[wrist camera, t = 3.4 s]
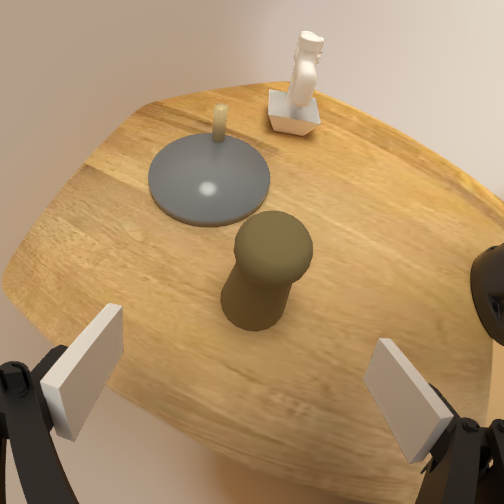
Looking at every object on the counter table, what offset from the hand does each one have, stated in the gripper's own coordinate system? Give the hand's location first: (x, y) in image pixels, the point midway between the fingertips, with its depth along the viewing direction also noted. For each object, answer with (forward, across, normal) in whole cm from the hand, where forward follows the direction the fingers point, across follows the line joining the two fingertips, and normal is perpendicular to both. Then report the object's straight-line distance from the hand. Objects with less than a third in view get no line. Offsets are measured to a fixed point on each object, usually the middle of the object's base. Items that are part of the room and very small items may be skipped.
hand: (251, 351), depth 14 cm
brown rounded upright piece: (+14, +1, -3) cm, 14 cm away
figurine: (+33, +4, +17) cm, 37 cm away
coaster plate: (+23, -5, +7) cm, 25 cm away
